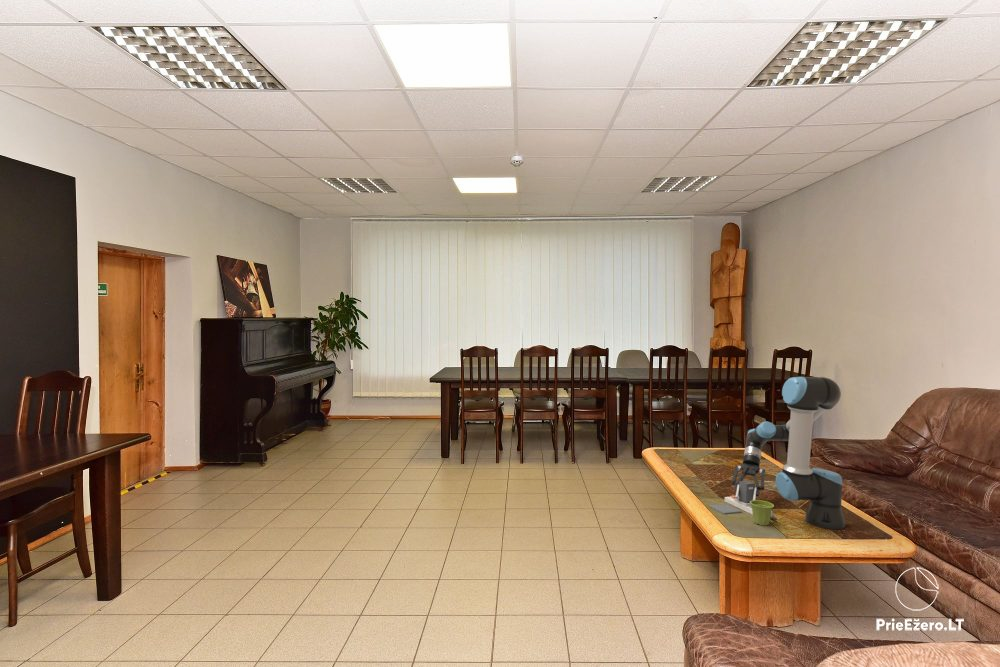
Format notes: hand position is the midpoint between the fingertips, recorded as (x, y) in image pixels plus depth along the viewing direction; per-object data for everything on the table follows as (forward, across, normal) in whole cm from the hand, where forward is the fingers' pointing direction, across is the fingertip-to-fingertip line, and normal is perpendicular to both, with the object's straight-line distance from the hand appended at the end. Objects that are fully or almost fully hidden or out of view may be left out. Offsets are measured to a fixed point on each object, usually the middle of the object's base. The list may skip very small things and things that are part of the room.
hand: (745, 499), depth 253 cm
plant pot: (+14, -9, +6) cm, 17 cm away
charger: (-1, 0, -4) cm, 4 cm away
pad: (+7, +8, +1) cm, 11 cm away
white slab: (+3, -3, -4) cm, 6 cm away
